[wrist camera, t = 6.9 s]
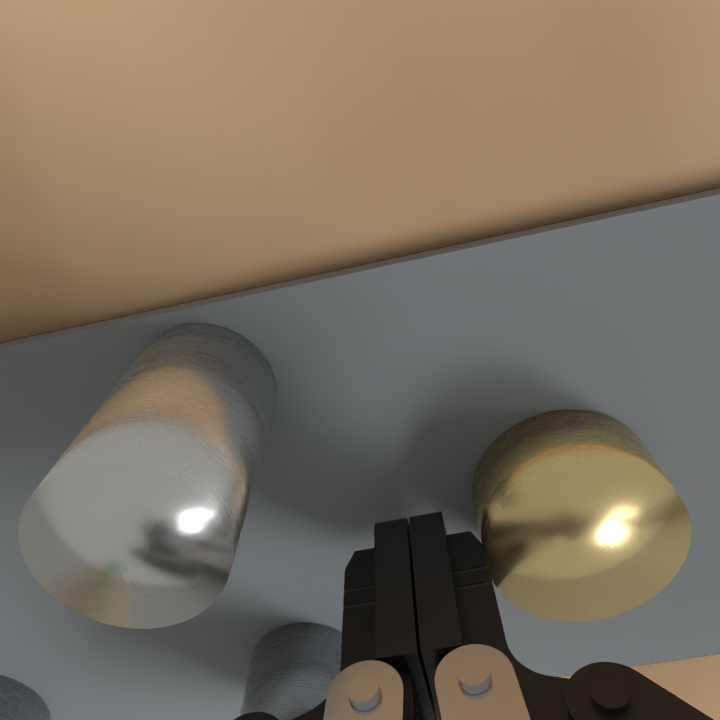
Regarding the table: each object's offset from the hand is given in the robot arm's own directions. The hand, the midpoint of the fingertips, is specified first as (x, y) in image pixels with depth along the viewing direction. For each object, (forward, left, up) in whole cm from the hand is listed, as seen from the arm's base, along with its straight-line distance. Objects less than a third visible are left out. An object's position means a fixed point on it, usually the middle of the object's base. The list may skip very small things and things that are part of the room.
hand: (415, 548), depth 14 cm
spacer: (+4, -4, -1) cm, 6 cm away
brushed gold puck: (-3, 0, -1) cm, 4 cm away
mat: (+1, 0, -1) cm, 2 cm away
